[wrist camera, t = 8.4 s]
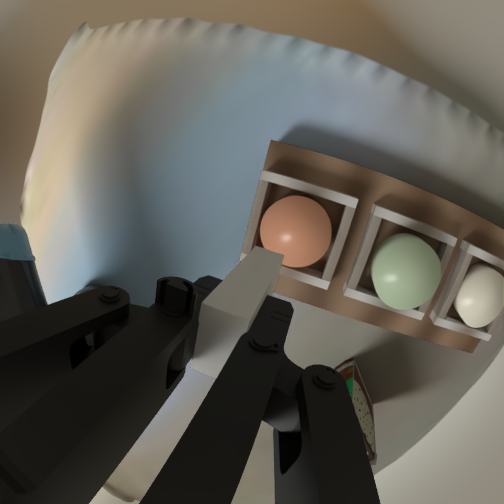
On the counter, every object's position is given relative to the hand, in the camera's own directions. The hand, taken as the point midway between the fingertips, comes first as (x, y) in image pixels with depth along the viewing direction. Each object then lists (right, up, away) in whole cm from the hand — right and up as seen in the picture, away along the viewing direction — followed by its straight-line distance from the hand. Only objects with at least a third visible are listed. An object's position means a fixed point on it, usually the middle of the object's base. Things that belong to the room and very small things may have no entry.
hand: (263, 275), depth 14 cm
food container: (+11, -17, +19) cm, 27 cm away
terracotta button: (+4, +3, +11) cm, 12 cm away
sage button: (+13, 0, +8) cm, 15 cm away
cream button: (+22, -3, +8) cm, 24 cm away
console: (+14, +1, +12) cm, 19 cm away
